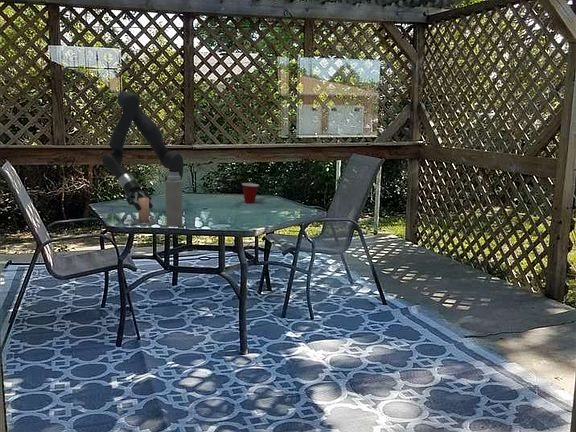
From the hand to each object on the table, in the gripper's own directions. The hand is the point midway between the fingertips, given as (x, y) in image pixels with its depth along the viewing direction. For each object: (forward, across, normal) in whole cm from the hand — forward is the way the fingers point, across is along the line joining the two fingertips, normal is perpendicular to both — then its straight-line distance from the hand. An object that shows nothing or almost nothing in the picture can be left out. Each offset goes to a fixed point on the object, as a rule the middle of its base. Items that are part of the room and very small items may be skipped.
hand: (145, 208), depth 312 cm
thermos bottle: (+16, -5, +5) cm, 17 cm away
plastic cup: (+8, -87, -3) cm, 87 cm away
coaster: (+4, 0, -6) cm, 7 cm away
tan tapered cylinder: (+4, 0, -6) cm, 7 cm away
